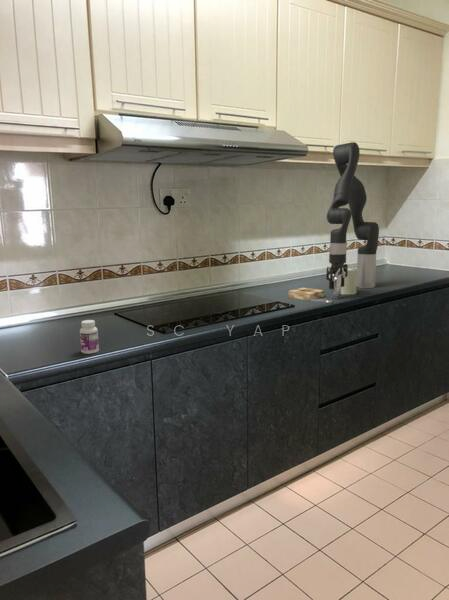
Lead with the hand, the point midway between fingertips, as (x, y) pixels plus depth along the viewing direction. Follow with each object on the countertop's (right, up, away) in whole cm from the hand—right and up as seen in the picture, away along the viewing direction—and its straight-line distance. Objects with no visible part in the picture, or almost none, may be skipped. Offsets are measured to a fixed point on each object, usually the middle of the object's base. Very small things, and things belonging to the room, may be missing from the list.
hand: (336, 287), depth 223 cm
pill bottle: (-93, -22, -73) cm, 121 cm away
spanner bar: (-9, -6, -6) cm, 12 cm away
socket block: (-13, -4, +4) cm, 15 cm away
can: (+8, -2, +13) cm, 15 cm away
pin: (0, -5, +1) cm, 5 cm away
